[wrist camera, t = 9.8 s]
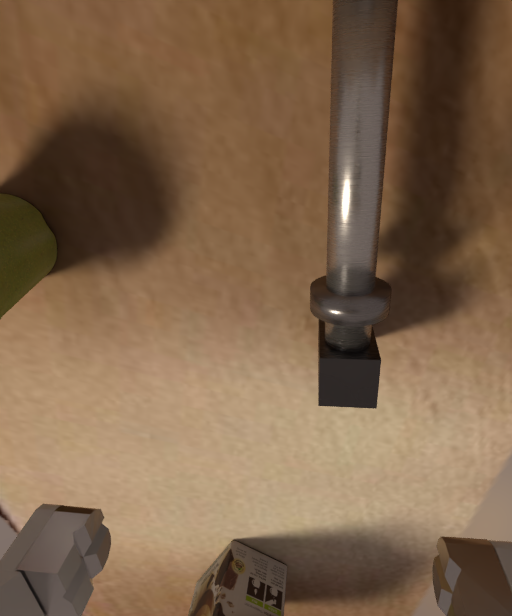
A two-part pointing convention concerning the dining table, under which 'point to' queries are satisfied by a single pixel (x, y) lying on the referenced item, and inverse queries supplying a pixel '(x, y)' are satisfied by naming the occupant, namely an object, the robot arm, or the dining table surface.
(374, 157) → the metal shaft with collar
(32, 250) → the plant pot
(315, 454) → the dining table surface
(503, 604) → the robot arm
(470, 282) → the dining table surface
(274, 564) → the coffee box
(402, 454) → the dining table surface
